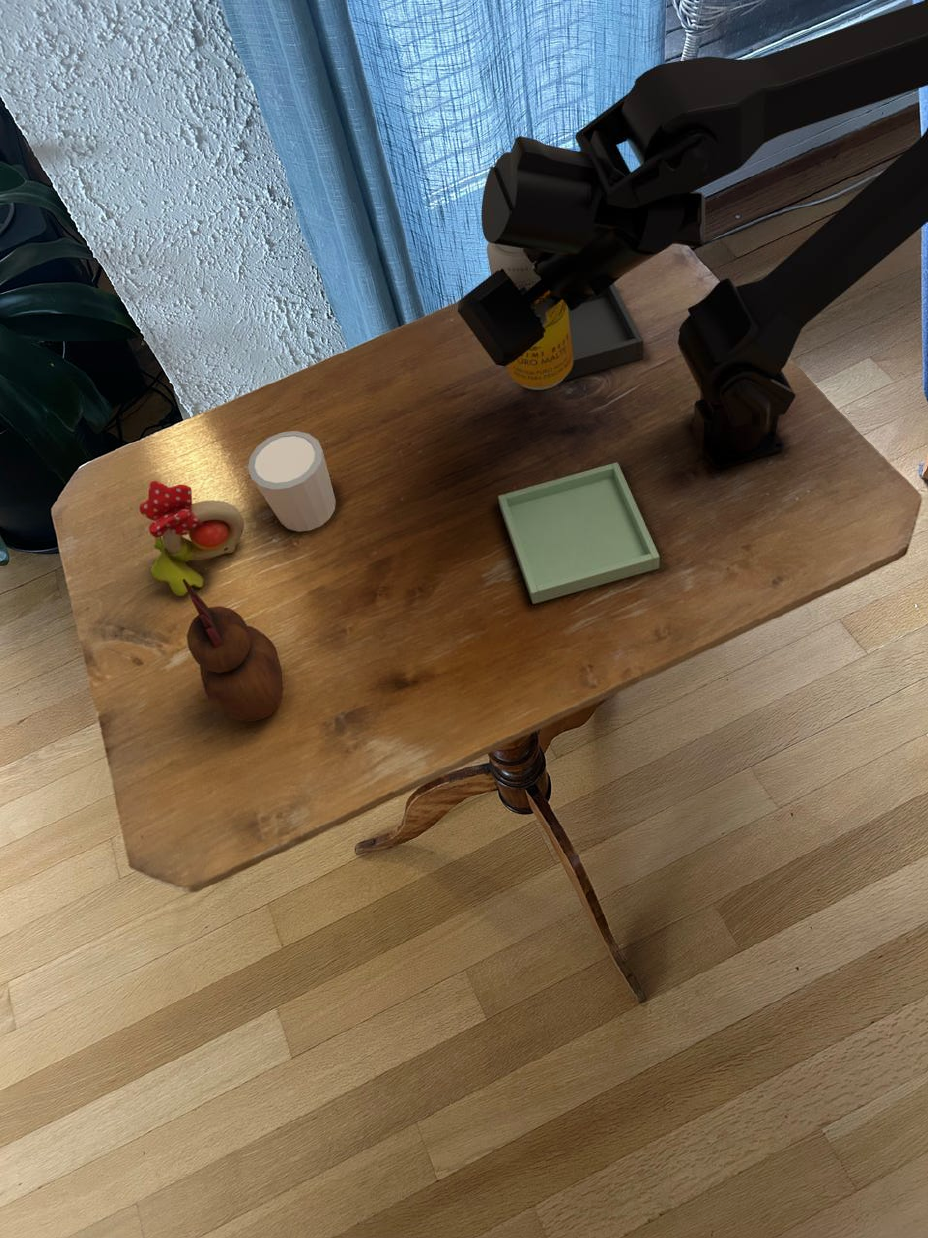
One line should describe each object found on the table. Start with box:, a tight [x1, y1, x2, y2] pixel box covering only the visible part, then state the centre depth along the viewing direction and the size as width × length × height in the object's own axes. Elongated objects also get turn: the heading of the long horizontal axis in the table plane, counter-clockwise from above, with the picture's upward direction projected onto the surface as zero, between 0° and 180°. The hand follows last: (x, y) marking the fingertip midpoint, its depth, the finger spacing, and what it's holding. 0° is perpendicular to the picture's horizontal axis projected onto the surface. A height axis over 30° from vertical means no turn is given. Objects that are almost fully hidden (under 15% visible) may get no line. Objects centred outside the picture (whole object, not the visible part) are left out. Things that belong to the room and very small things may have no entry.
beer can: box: [486, 241, 573, 391], centre depth 86 cm, size 6×6×15 cm
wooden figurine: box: [182, 579, 284, 722], centre depth 77 cm, size 7×6×15 cm
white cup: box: [247, 430, 337, 533], centre depth 91 cm, size 7×7×7 cm
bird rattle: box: [139, 480, 245, 597], centre depth 88 cm, size 6×11×9 cm
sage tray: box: [497, 462, 660, 605], centre depth 87 cm, size 11×11×2 cm
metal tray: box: [560, 282, 644, 383], centre depth 100 cm, size 11×10×2 cm
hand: (521, 298), depth 87 cm, fingers closed on beer can, 6 cm apart
